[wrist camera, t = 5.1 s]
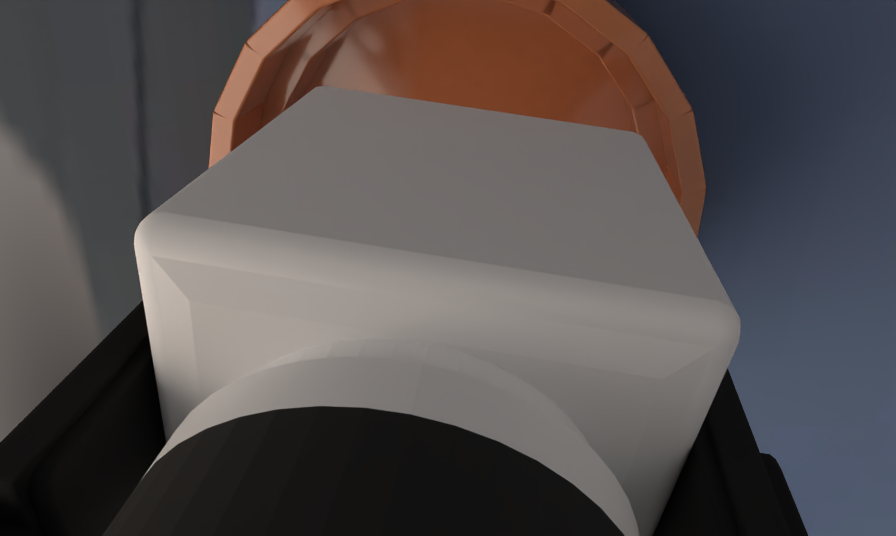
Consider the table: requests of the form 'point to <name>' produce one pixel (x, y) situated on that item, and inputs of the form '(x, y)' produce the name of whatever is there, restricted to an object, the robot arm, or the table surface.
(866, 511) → the table surface
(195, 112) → the table surface
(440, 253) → the medicine bottle
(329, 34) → the bowl
